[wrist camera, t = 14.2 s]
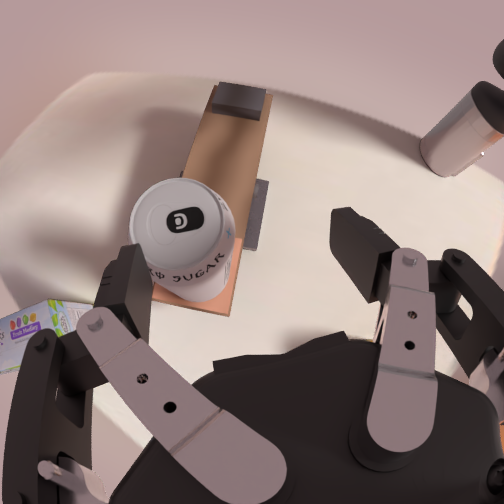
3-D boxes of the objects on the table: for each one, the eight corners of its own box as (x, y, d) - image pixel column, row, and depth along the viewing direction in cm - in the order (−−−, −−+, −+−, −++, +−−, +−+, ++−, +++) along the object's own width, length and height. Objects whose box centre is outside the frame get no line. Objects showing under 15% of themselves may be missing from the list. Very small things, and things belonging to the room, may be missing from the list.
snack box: (15, 374, 31) (-48, 385, 17) (6, 340, 32) (-59, 340, 18) (119, 342, 35) (64, 353, 20) (106, 302, 36) (47, 291, 21)
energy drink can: (163, 249, 29) (114, 181, 14) (222, 236, 30) (223, 157, 15) (174, 308, 27) (126, 294, 13) (235, 295, 28) (249, 268, 14)
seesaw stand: (267, 184, 42) (275, 162, 35) (255, 251, 39) (262, 238, 33) (186, 169, 41) (181, 145, 35) (168, 233, 39) (158, 218, 32)
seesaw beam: (273, 107, 37) (279, 86, 33) (233, 317, 30) (235, 317, 26) (210, 96, 37) (210, 74, 33) (151, 300, 30) (140, 296, 26)
